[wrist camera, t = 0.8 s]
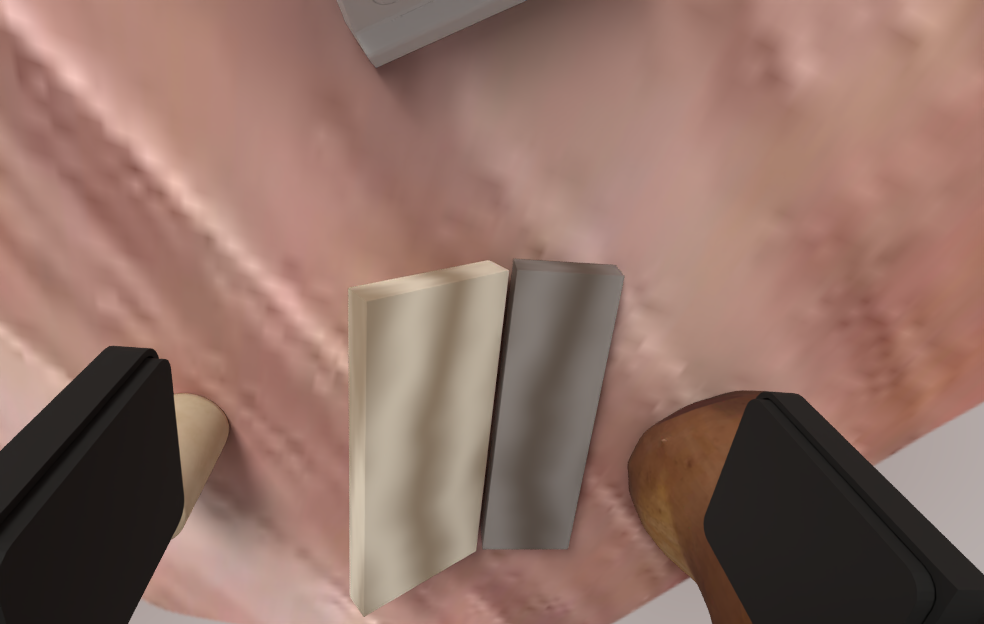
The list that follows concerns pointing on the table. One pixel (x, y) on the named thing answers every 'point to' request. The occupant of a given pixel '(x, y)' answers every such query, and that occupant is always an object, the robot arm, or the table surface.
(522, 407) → the floor board
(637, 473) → the butternut squash
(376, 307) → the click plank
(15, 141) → the table surface
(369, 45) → the grey flat curved part
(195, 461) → the candle
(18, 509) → the robot arm
